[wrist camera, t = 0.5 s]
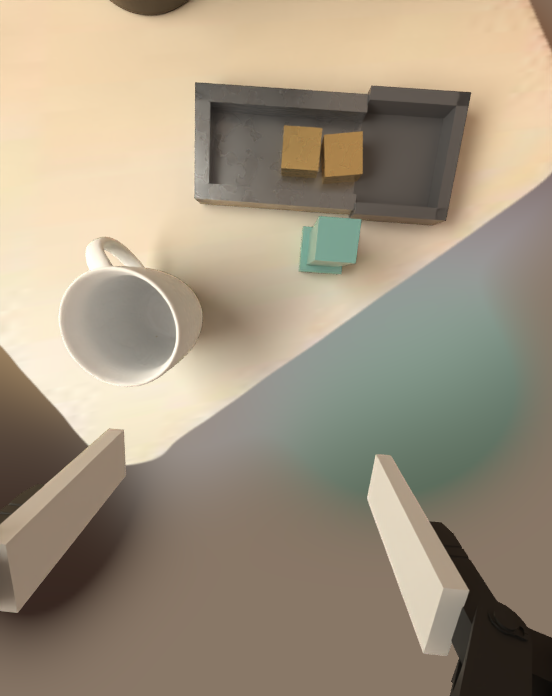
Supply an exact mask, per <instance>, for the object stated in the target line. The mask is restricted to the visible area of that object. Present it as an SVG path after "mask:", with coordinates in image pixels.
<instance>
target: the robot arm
mask: <svg viewBox="0 0 552 696" xmlns="http://www.w3.org/2000/svg"><path fill="white" fill-rule="evenodd" d="M110 1H111V2H113V3H114V4H116V5H117V6H119V7H121V8H123V9H125V10H128V11H130V12H133V13H137V14H143V15H157V14H162V13H166V12H169V11H171V10H174V9H176V8H178V7H179V6H181V5H182V4H184V3H185V2H186V1H188V0H110ZM125 476H126V468H125V445H124V430H121V429H110V428H109V429H108V430H107V431H106V432H105V433H103V434H102V435H101V436H100V437H99V438H98V439H97V440H95V441H94V442H93V443H92V444H91V445H90V446H89V447H88V448H86V449H85V450H84V451H83V452H82V453H81V454H80V455H78V456H77V457H76V458H75V459H74V460H73V461H72V462H71V463H69V464H68V465H67V466H66V467H65V468H64V469H63V470H61V471H60V472H59V473H58V474H57V475H56V476H55V477H53V478H52V479H51V480H50V481H49V482H48V483H47V484H46V485H42V484H37V485H35V486H33V487H31V488H29V489H28V490H26V491H24V492H22V493H21V494H20V495H18V496H17V497H16V498H15V499H14V500H13V501H11V502H10V503H9V505H7V506H5V507H4V508H3V509H2V510H0V611H6V612H16V613H17V612H18V611H19V610H20V609H21V608H22V606H23V605H24V604H25V602H26V601H27V600H28V599H29V597H30V596H31V595H32V594H33V592H34V591H35V590H36V589H37V587H38V586H39V585H40V584H41V582H42V581H43V580H44V578H45V577H46V576H47V575H48V573H49V572H50V571H51V569H52V568H53V567H54V566H55V565H56V563H57V562H58V561H59V559H60V558H61V557H62V556H63V554H64V553H65V552H66V551H67V549H68V548H69V547H70V545H71V544H72V543H73V542H74V540H75V539H76V538H77V537H78V535H79V534H80V533H81V532H82V530H83V529H84V528H85V526H86V525H87V524H88V523H89V521H90V520H91V519H92V518H93V516H94V515H95V514H96V512H97V511H98V510H99V509H100V507H101V506H102V505H103V504H104V502H105V501H106V500H107V499H108V497H109V496H110V495H111V493H112V492H113V491H114V490H115V488H116V487H117V486H118V485H119V483H120V482H121V481H122V479H123V478H124V477H125ZM367 500H368V503H369V505H370V508H371V511H372V514H373V516H374V519H375V522H376V525H377V527H378V530H379V533H380V536H381V538H382V541H383V544H384V546H385V549H386V552H387V555H388V557H389V560H390V563H391V566H392V568H393V571H394V574H395V577H396V579H397V582H398V585H399V588H400V590H401V593H402V596H403V599H404V601H405V604H406V607H407V610H408V612H409V615H410V618H411V621H412V623H413V626H414V629H415V632H416V634H417V637H418V640H419V643H420V645H421V648H422V651H423V653H424V654H433V655H444V656H447V655H448V653H449V649H450V647H451V644H452V643H453V645H454V648H455V650H456V652H457V654H458V657H459V660H458V663H457V666H456V669H455V672H454V675H453V678H452V681H451V682H452V683H453V685H452V689H451V693H450V696H552V638H551V637H549V636H546V635H544V634H541V633H539V632H536V631H534V630H532V629H530V628H528V627H527V626H526V624H525V623H524V622H523V621H522V620H521V618H520V617H519V616H518V615H517V614H516V613H515V612H513V611H512V610H511V609H510V608H508V607H507V606H505V605H503V604H502V603H500V602H498V601H497V600H496V599H495V597H494V596H493V594H492V593H491V591H490V590H489V588H488V587H487V585H486V584H485V582H484V580H483V579H482V577H481V576H480V574H479V573H478V571H477V570H476V568H475V566H474V565H473V563H472V562H471V561H470V560H469V559H468V556H467V554H466V553H465V551H464V549H462V547H461V545H460V543H459V542H458V540H457V539H456V537H455V536H454V534H453V533H452V532H451V531H450V530H449V529H448V528H447V527H446V526H445V525H443V524H442V523H440V522H430V521H429V520H428V519H427V517H426V515H425V514H424V512H423V510H422V508H421V507H420V505H419V503H418V502H417V500H416V498H415V496H414V495H413V493H412V491H411V489H410V488H409V486H408V484H407V483H406V481H405V479H404V477H403V476H402V474H401V472H400V471H399V469H398V467H397V465H396V464H395V462H394V460H393V459H392V457H391V456H390V455H380V454H376V456H375V462H374V466H373V471H372V477H371V482H370V487H369V492H368V497H367Z"/></svg>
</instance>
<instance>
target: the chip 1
mask: <svg viewBox="0 0 552 696" xmlns="http://www.w3.org/2000/svg"><path fill="white" fill-rule="evenodd" d="M321 137H322V128H315V127H301V126H287V125H284V134H283V148H282V163H281V176H290V177H304V178H316V176H317V173H318V168H319V158H320V148H321Z"/></svg>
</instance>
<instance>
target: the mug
mask: <svg viewBox="0 0 552 696" xmlns="http://www.w3.org/2000/svg"><path fill="white" fill-rule="evenodd" d="M104 250H106V251H108V252H110V253H111V254H112V255H114V256H115V257H116V258H117V259H119V260H120V261H121V262H122V263H123V264H124V265H125V266H113V265H112V264H111V262H110V261H109V259H108V258H107V256H106V254H105V252H104ZM86 260H87V265H88V267H89V271H87V272H85V273H83V274H82V275H80V276H79V277H77V278H76V279H75V280H74V281H73V282H72V283H71V284H70V286H69V287H68V288H67V290H66V292H65V293H64V296H63V298H62V301H61V305H60V310H59V325H60V331H61V335H62V339H63V341H64V344H65V346H66V348H67V350H68V351H69V353H70V355H71V356H72V357H73V359H74V360H75V361H76V362H77V363H78V364H79V365H80V366H81V367H82V368H83V369H84V370H85V371H86V372H88V373H89V374H90V375H92V376H93V377H95V378H97V379H98V380H100V381H103V382H105V383H108V384H111V385H115V386H123V387H133V386H139V385H144V384H146V383H149V382H152V381H154V380H155V379H157V378H159V377H160V376H162V375H163V374H164V373H166V372H167V371H168V370H169V369H171V368H172V367H174V365H176V364H177V363H179V361H180V360H182V359H183V358H184V356H186V355H187V354H188V352H189V351H190V350H191V349H192V347H193V346H194V345H195V343H196V341H197V339H198V338H199V335H200V332H201V328H202V323H203V322H202V321H203V317H202V316H203V313H202V308H201V306H200V302H199V300H198V298H197V296H196V295H195V293H194V292H193V291H192V289H191V288H190V287H188V286H187V284H185V283H184V282H182V281H181V280H180V279H178V278H177V277H175V276H172V275H171V274H168V273H165V272H163V271H158V270H155V269H150V268H145V267H144V266H143V265H142V263H141V262H140V261H139V260H138V259H137V258H136V256H135V255H134V254H133V253H132V252H131V251H130V250H129V249H128V248H127V247H125V246H124V245H123V244H121V243H120V242H119V241H117V240H115V239H113V238H110V237H100V238H97V239H95V240H93V241H92V242H90V243H89V245H88V246H87V248H86Z"/></svg>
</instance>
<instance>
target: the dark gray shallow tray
mask: <svg viewBox="0 0 552 696" xmlns="http://www.w3.org/2000/svg"><path fill="white" fill-rule="evenodd" d="M368 101H369V94H356V93H341V92H327V91H312V90H298V89H283V88H269V87H254V86H240V85H225V84H211V83H196V82H195V194H194V198H195V199H196V200H197V201H198V202H199V203H200V204H211V205H225V206H238V207H252V208H266V209H279V210H293V211H306V212H320V213H333V214H347V215H350V214H351V213H352V212H353V211H354V210H355V203H356V195H357V194H353V191H354V183H355V182H343V183H331V184H322V157H321V148H320V158H319V168H318V173H317V176H316V178H304V177H290V176H281V163H282V148H283V134H284V125H287V126H301V127H315V128H322V137H321V144H322V140H323V137H324V135H327V134H338V133H349V132H360V131H361V127H362V122H363V120H364V118H365V116H366V114H367V109H368Z"/></svg>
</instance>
